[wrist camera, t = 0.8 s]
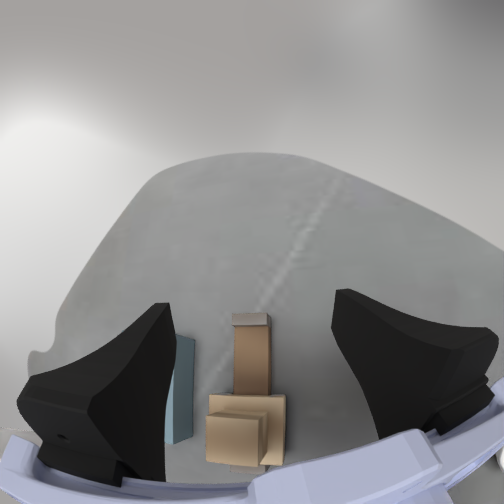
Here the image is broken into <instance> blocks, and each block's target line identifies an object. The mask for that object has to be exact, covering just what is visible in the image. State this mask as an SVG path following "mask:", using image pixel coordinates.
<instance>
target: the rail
mask: <svg viewBox="0 0 504 504" xmlns="http://www.w3.org/2000/svg"><path fill="white" fill-rule="evenodd" d="M232 326H234V327H235V340H234V391H233V394H234V395H260V396H271V317H270V316H269V315H268V314H267V313H248V314H232ZM269 466H270V465H262V464H259V466H258V467H251V466H240V465H231V464H230V472H238V473H248V474H262V473H265V472H267V470H268V468H269Z"/></svg>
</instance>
